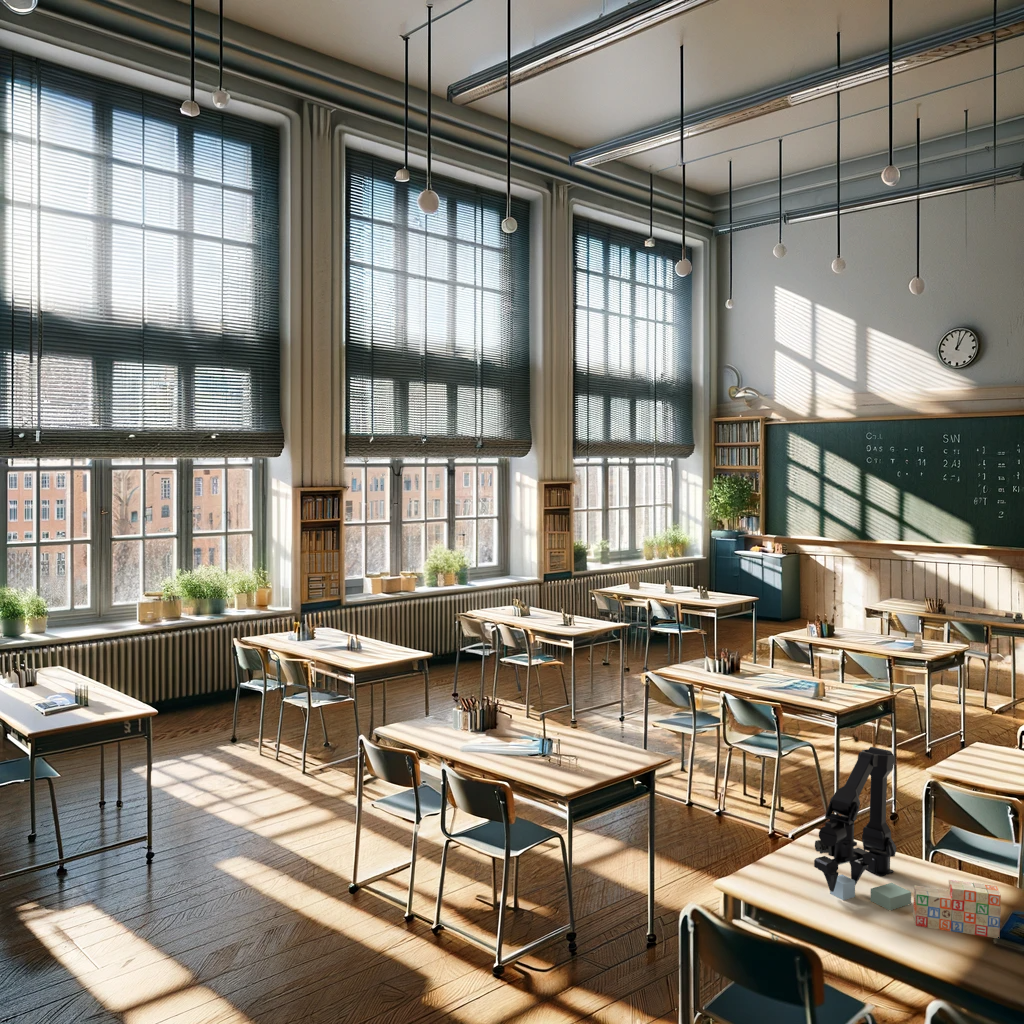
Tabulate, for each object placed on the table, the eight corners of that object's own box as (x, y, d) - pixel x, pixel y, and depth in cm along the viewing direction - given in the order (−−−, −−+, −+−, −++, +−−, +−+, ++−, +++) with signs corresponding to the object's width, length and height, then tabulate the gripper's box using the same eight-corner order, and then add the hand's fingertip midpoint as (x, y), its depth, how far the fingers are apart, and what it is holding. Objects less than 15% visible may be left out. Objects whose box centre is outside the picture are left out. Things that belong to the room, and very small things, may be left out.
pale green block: (891, 895, 280) (891, 882, 280) (911, 905, 274) (911, 891, 274) (870, 901, 276) (870, 888, 276) (889, 911, 270) (890, 898, 269)
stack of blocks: (915, 926, 260) (916, 883, 260) (913, 916, 266) (914, 874, 266) (1000, 939, 254) (1001, 894, 253) (996, 928, 260) (997, 885, 259)
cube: (841, 890, 283) (842, 874, 283) (854, 897, 278) (855, 880, 278) (830, 893, 280) (830, 877, 280) (842, 900, 276) (843, 884, 276)
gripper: (844, 822, 290) (843, 872, 291) (800, 833, 281) (799, 883, 282) (873, 835, 280) (872, 886, 281) (829, 846, 272) (828, 898, 272)
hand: (842, 888), depth 279 cm, fingers open, 9 cm apart
